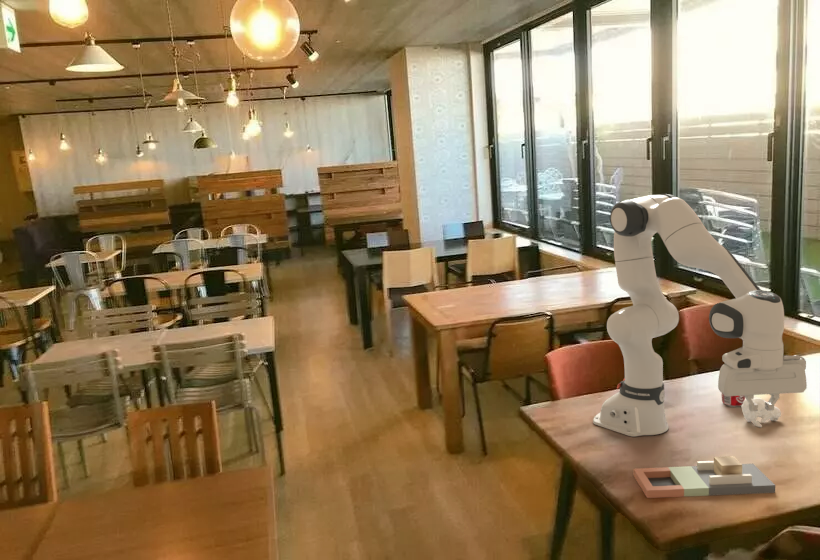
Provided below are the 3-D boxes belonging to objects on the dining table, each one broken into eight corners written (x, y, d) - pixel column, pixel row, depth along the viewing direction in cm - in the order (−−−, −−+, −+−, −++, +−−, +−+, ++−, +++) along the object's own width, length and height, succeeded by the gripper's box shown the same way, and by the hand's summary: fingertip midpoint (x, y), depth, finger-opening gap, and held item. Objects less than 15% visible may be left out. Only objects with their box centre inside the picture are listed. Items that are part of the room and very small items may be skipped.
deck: (752, 470, 178) (753, 463, 178) (775, 492, 167) (775, 485, 166) (633, 475, 180) (633, 468, 180) (647, 497, 168) (647, 490, 168)
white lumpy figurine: (740, 394, 208) (773, 393, 211) (737, 421, 210) (770, 419, 212) (755, 401, 202) (789, 399, 205) (751, 428, 204) (785, 426, 206)
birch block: (733, 470, 175) (733, 456, 174) (742, 479, 170) (742, 464, 169) (713, 471, 175) (713, 456, 175) (721, 480, 170) (721, 465, 170)
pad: (690, 473, 179) (691, 466, 179) (708, 495, 167) (708, 487, 167) (667, 474, 180) (667, 467, 179) (684, 496, 168) (684, 488, 167)
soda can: (746, 402, 225) (747, 367, 223) (743, 409, 219) (744, 373, 217) (723, 399, 229) (723, 365, 227) (719, 406, 223) (720, 371, 221)
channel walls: (736, 466, 177) (736, 459, 177) (751, 483, 168) (751, 475, 168) (697, 468, 177) (697, 461, 177) (710, 484, 169) (710, 477, 168)
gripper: (799, 351, 169) (797, 403, 172) (715, 355, 171) (715, 407, 173) (813, 358, 163) (810, 412, 166) (726, 362, 164) (725, 416, 167)
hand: (761, 410), depth 169 cm, fingers open, 3 cm apart
